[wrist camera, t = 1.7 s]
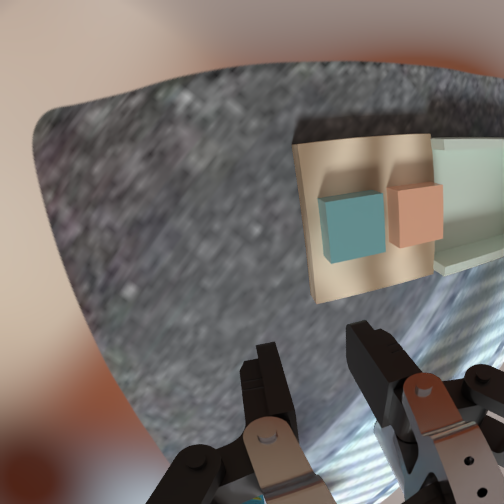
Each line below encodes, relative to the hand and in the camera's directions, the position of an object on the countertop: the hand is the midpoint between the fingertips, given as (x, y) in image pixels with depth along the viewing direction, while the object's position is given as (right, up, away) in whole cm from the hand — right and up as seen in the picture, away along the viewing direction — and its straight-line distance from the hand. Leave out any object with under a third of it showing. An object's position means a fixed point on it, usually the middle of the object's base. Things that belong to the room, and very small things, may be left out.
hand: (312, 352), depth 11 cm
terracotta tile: (+12, +7, +15) cm, 21 cm away
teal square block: (+6, +6, +15) cm, 17 cm away
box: (+22, +10, +17) cm, 30 cm away
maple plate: (+9, +7, +17) cm, 20 cm away
